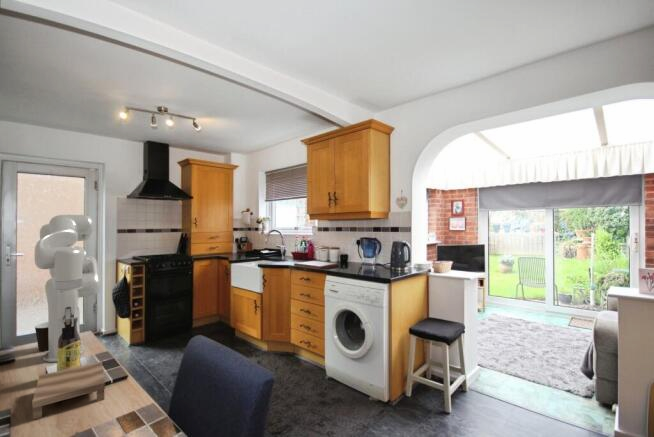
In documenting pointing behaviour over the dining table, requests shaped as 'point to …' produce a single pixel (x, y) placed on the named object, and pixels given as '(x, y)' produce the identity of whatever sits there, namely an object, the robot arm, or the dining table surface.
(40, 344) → the coffee mug
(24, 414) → the dining table surface
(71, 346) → the sauce bottle
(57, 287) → the robot arm
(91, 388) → the walnut shelf
